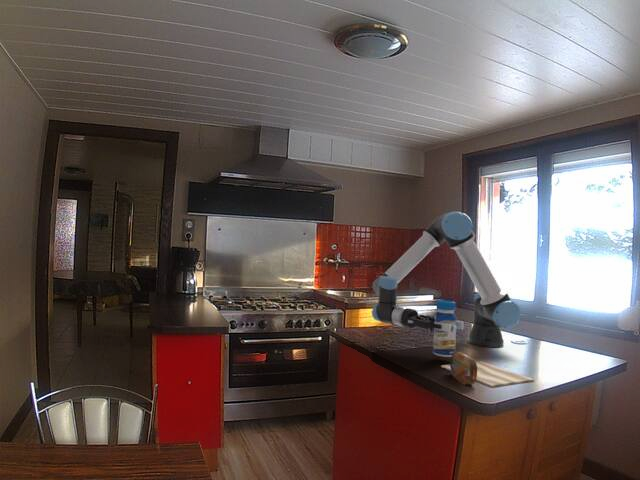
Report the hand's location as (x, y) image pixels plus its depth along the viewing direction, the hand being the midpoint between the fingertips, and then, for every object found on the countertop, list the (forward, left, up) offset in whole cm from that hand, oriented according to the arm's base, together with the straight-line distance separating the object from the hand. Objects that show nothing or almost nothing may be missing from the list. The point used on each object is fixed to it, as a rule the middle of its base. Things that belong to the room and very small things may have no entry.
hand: (456, 327), depth 156 cm
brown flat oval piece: (+12, +16, -14) cm, 24 cm away
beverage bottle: (+1, -4, -11) cm, 12 cm away
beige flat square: (-2, +13, -14) cm, 19 cm away
